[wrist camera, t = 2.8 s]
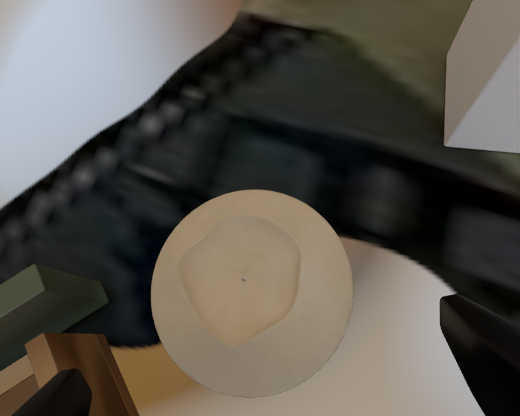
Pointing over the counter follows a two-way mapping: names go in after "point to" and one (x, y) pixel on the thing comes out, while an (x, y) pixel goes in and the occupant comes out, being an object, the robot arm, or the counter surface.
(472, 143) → the milk
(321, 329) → the candle
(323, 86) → the counter surface
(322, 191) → the counter surface
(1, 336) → the drawer
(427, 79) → the counter surface
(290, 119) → the counter surface
